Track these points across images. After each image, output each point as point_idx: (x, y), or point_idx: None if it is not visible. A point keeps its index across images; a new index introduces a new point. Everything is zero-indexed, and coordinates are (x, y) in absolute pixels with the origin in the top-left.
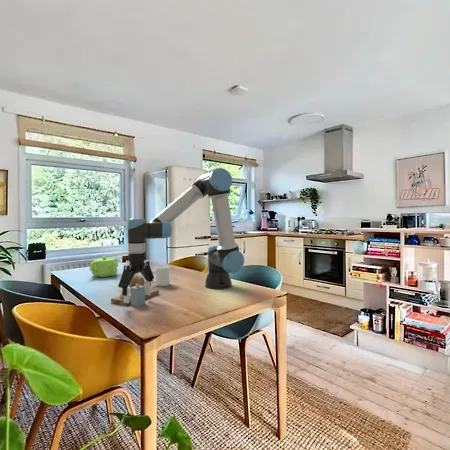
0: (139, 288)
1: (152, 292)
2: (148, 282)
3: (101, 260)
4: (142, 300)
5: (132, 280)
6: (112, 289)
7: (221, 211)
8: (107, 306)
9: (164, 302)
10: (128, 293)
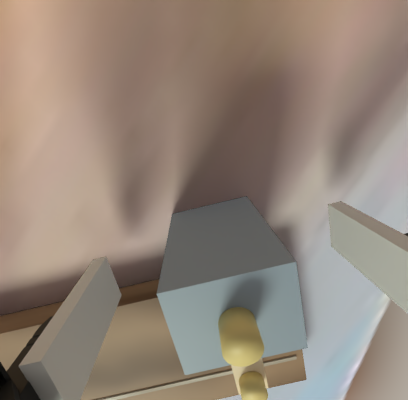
0: (248, 267)
1: (30, 325)
2: (52, 361)
3: None
4: (196, 218)
5: None
6: None
7: None
8: (345, 318)
9: (54, 117)
10: (395, 234)
